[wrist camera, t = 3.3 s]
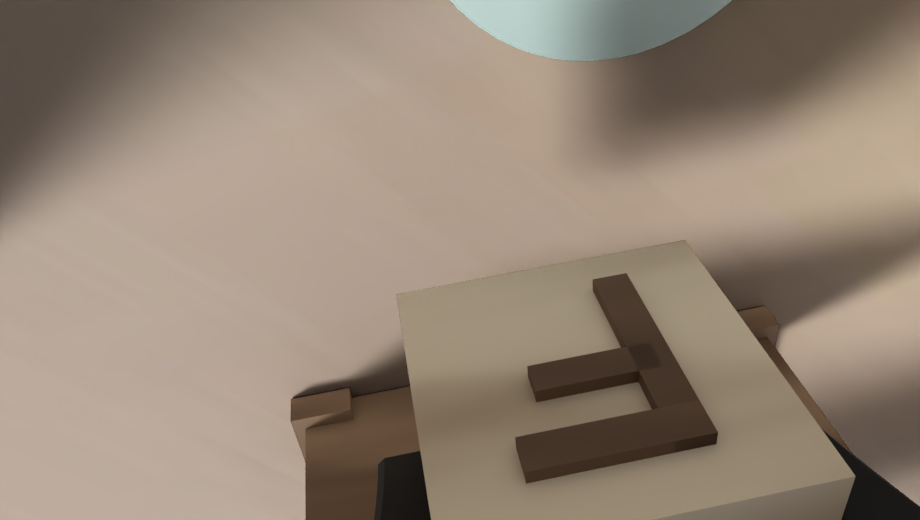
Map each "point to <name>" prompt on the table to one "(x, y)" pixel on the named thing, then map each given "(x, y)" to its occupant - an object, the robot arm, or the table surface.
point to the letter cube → (608, 399)
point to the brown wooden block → (395, 433)
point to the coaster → (587, 24)
